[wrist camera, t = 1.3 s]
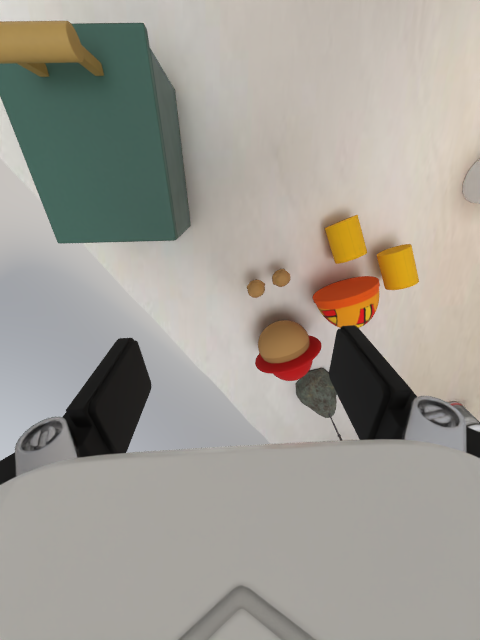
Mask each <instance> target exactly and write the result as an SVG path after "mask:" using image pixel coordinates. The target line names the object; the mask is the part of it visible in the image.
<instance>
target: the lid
mask: <svg viewBox="0 0 480 640" xmlns="http://www.w3.org/2000/svg"><path fill="white" fill-rule="evenodd" d="M0 96H1V99H2V102H3V104H4V107H5V109H6V112H7V114H8V117H9V119H10V122H11V124H12V127H13V130H14V132H15V135H16V137H17V140H18V142H19V145H20V147H21V150H22V153H23V155H24V158H25V160H26V163H27V165H28V168H29V170H30V173H31V175H32V178H33V181H34V183H35V186H36V188H37V191H38V193H39V196H40V198H41V201H42V204H43V206H44V209H45V211H46V214H47V216H48V219H49V221H50V224H51V227H52V229H53V232H54V234H55V237H56V239H57V242H58V243H94V242H132V241H170V240H176V239H177V232H176V226H175V219H174V212H173V205H172V198H171V191H170V184H169V178H168V171H167V164H166V157H165V150H164V143H163V136H162V130H161V123H160V116H159V109H158V102H157V95H156V88H155V82H154V75H153V68H152V61H151V54H150V47H149V40H148V34H147V29H146V27H145V25H144V23H91V24H71V23H70V22H68V21H6V22H0Z"/></svg>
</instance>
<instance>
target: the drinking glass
mask: <svg viewBox="0 0 480 640" xmlns="http://www.w3.org/2000/svg"><path fill="white" fill-rule="evenodd" d="M462 192H463V194H464V197H465V199H466V200H468V201H469V202H471V203H478V204H480V159H479V160H478V161H476V162H475V163H474V165H473V166H472V167H471V168H470V170H469V171H468V173H467V175H466V177H465V180H464V182H463V191H462Z"/></svg>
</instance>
